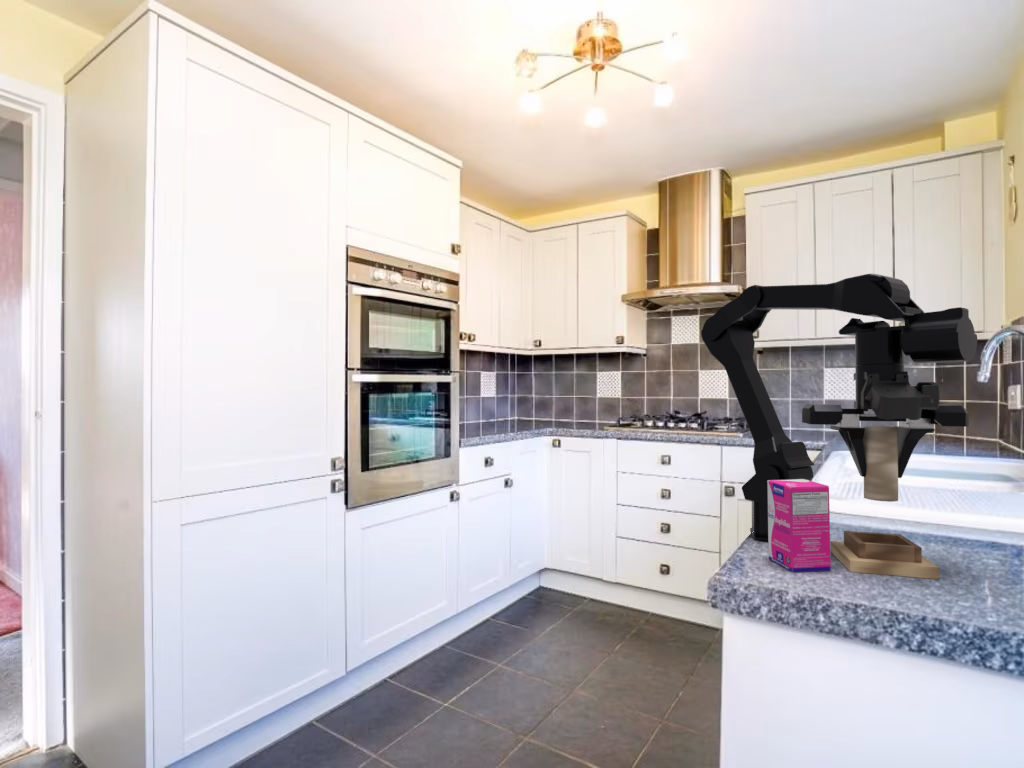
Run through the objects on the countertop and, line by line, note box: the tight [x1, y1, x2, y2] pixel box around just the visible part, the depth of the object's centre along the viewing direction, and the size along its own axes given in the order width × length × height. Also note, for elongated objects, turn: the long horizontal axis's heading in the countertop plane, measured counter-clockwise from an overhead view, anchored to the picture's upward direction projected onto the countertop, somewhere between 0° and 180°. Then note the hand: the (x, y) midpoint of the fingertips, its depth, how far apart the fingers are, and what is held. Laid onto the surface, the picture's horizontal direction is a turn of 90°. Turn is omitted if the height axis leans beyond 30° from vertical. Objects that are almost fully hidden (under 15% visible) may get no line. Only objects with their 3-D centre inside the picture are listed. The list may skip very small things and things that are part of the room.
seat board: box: [830, 530, 940, 580], centre depth 77 cm, size 10×10×4 cm
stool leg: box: [862, 425, 899, 503], centre depth 77 cm, size 4×4×10 cm
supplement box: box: [767, 479, 832, 573], centre depth 76 cm, size 6×6×12 cm
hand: (880, 476), depth 77 cm, fingers closed on stool leg, 4 cm apart
